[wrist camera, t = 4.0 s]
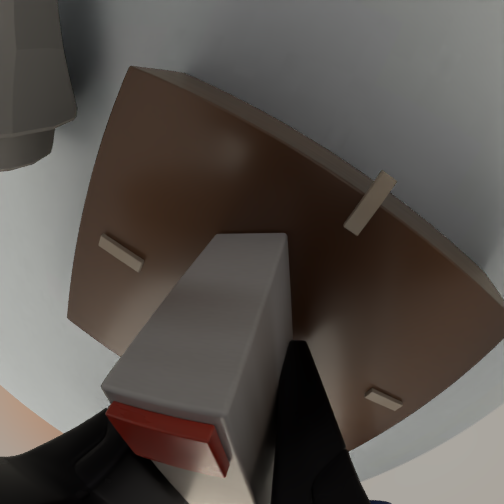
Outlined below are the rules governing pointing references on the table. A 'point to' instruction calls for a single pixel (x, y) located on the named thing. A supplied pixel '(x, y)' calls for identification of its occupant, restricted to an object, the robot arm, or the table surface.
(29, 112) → the faucet
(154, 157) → the panel
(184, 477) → the tap handle
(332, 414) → the robot arm
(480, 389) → the table surface
